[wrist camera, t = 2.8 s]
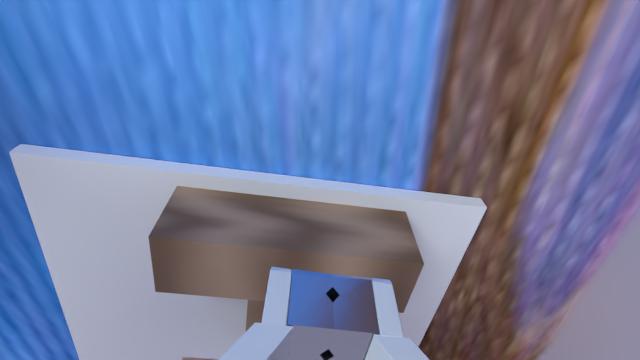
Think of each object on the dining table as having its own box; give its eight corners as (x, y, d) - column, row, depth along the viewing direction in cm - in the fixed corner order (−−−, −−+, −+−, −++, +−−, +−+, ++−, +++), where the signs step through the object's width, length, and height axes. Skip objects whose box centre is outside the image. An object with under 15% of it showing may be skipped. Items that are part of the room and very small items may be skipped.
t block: (186, 331, 29) (167, 389, 25) (177, 185, 22) (148, 236, 18) (359, 344, 30) (366, 401, 27) (405, 211, 23) (424, 264, 19)
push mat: (115, 443, 41) (111, 454, 40) (21, 143, 21) (8, 151, 20) (359, 454, 44) (360, 464, 43) (480, 198, 24) (487, 207, 23)
